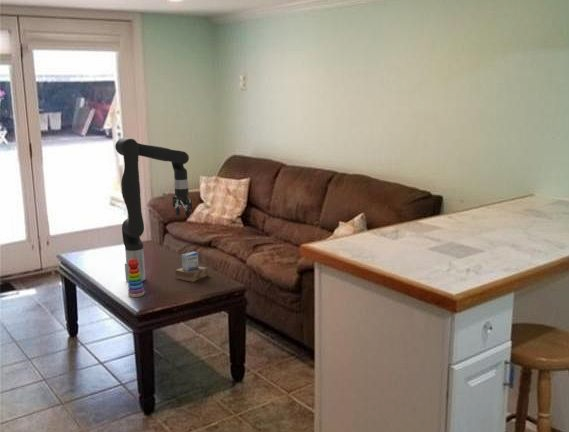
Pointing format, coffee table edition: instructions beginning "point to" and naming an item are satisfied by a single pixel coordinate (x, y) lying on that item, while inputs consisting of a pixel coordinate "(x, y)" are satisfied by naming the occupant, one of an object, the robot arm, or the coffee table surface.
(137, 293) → the stacking toy
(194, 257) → the medicine box
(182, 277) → the tan square block
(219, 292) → the coffee table surface
